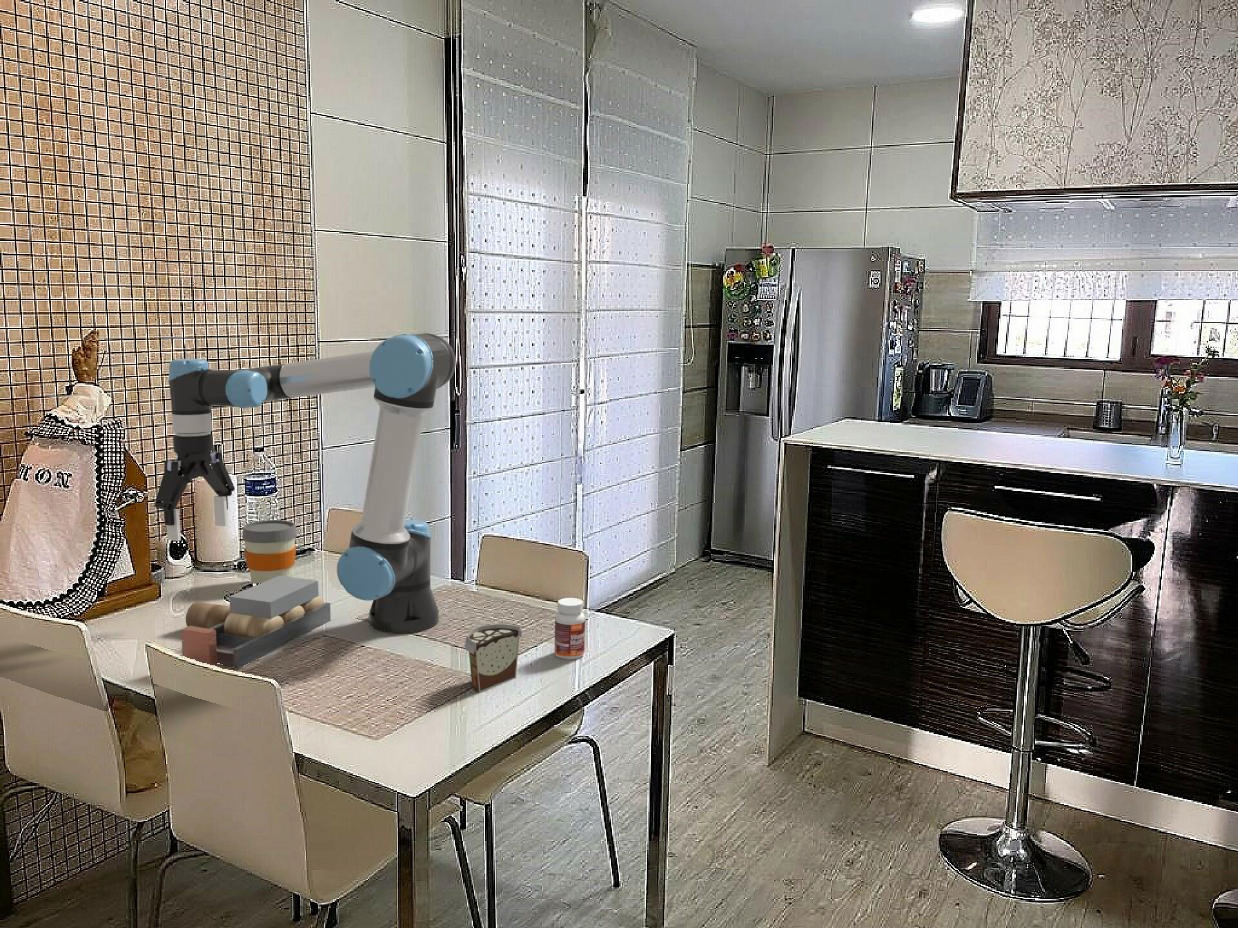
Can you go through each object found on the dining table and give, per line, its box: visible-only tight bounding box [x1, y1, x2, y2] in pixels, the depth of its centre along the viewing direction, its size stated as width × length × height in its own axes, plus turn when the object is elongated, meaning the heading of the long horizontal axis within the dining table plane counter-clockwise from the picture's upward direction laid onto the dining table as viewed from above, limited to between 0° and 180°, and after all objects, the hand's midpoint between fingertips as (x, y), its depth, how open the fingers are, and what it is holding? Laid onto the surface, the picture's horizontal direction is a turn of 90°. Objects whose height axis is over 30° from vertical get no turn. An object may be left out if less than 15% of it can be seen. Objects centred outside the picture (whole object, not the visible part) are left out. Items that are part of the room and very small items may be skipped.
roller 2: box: [224, 613, 284, 637], centre depth 192 cm, size 10×6×6 cm, turn 73°
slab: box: [228, 576, 320, 619], centre depth 198 cm, size 10×16×4 cm, turn 163°
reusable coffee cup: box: [242, 519, 298, 584], centre depth 229 cm, size 13×13×15 cm
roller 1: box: [185, 601, 230, 629], centre depth 197 cm, size 9×6×6 cm, turn 73°
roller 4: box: [299, 595, 325, 613], centre depth 205 cm, size 10×6×6 cm, turn 73°
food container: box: [464, 623, 523, 694], centre depth 175 cm, size 12×6×10 cm, turn 141°
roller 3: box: [278, 606, 305, 623], centre depth 198 cm, size 10×6×6 cm, turn 73°
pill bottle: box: [554, 597, 586, 661], centre depth 189 cm, size 6×6×11 cm
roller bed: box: [181, 602, 332, 670], centre depth 192 cm, size 13×34×8 cm, turn 163°
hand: (198, 532), depth 198 cm, fingers open, 13 cm apart
